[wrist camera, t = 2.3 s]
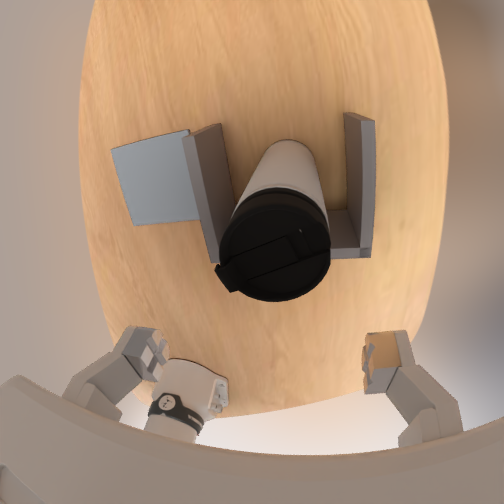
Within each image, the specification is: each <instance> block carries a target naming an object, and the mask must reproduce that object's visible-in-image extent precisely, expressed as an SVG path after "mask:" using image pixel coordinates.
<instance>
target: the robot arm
mask: <svg viewBox="0 0 504 504" xmlns="http://www.w3.org/2000/svg"><path fill="white" fill-rule="evenodd" d="M162 337H163V334H162V332H161V330H159V329H152V328H145V327H138V326H131V325H130V326H128V327H127V328H126V329H125V331H124V333H123V334H122V336H121V338H120V339H119V341H118V343H117V344H116V346H115V348H114V350H113V351H112V352H109V353H107V354H106V355H104V356H103V357H101V358H100V359H98V360H97V361H95V362H94V363H92V364H91V365H89V366H88V367H86V368H85V369H84V370H82V371H80V372H79V373H77V374H76V375H74V376H73V378H72V379H71V381H70V383H69V384H68V386H67V388H66V390H65V392H64V393H63V395H62V397H60V396H58V395H56V394H54V393H52V392H50V391H48V390H46V389H45V388H43V387H41V386H39V385H37V384H36V383H34V382H32V381H31V380H29V379H27V378H26V377H24V376H22V375H16V376H14V377H13V378H11V379H9V380H8V381H7V382H5V383H4V384H2V385H1V386H0V504H504V417H501V418H499V419H497V420H494V421H492V422H489V423H487V424H484V425H482V426H479V427H476V428H473V429H471V430H467V431H463V427H462V421H461V416H460V411H459V407H458V402H457V400H456V399H454V397H452V396H451V394H449V393H448V392H447V391H446V390H445V389H444V388H443V387H442V386H441V385H440V384H439V383H438V382H437V381H436V380H435V379H434V378H433V377H432V376H431V375H430V374H428V372H426V371H425V370H424V369H423V368H422V367H421V366H420V365H416V364H415V360H414V356H413V353H412V349H411V345H410V341H409V338H408V334H407V332H406V330H398V331H385V332H374V333H367V334H366V337H365V343H366V345H365V346H364V347H363V350H362V370H363V371H364V372H365V376H364V379H363V383H364V392H365V394H377V393H386V395H387V396H388V398H389V399H390V400H391V402H392V403H393V404H394V405H395V407H396V408H397V410H398V411H399V412H400V414H401V415H402V416H403V418H404V419H405V420H406V422H407V423H408V424H409V426H408V427H407V428H406V429H405V430H404V431H403V432H402V433H401V435H400V436H399V437H398V443H399V448H394V449H387V450H381V451H372V452H364V453H353V454H339V455H279V454H264V453H253V452H244V451H236V450H229V449H222V448H216V447H210V446H205V445H200V444H195V440H196V436H197V435H198V434H199V433H200V431H201V430H202V428H203V425H204V422H206V421H209V420H211V419H214V418H215V417H216V415H217V412H218V413H221V412H222V409H223V407H227V406H228V404H229V397H228V380H227V379H226V378H224V377H221V376H219V375H216V374H214V373H212V372H211V371H209V370H208V369H206V368H204V367H203V366H200V365H198V364H196V363H193V362H190V361H186V360H180V359H170V360H168V359H169V355H170V348H169V345H168V343H167V341H165V340H164V339H163V338H162ZM142 380H148V381H153V382H156V383H155V386H154V389H153V393H152V398H153V400H154V401H153V402H152V404H151V406H150V408H149V412H148V417H149V418H148V421H147V423H146V426H145V428H144V430H141V429H137V428H135V427H132V426H129V425H126V424H123V423H120V422H119V420H120V418H121V416H122V412H121V411H120V410H119V409H118V408H117V407H116V406H115V405H116V404H117V403H118V402H119V401H120V400H122V398H124V397H125V396H126V395H127V394H128V393H129V392H130V391H132V390H133V389H134V388H135V387H136V386H137V385H138V384H139V383H140V382H141V381H142ZM198 436H199V435H198Z"/></svg>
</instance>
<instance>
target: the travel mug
mask: <svg viewBox="0 0 504 504" xmlns="http://www.w3.org/2000/svg"><path fill="white" fill-rule="evenodd" d="M330 248H331V239H330V233H329V223H328V217H327V213H326V208H325V203H324V198H323V194H322V189H321V185H320V180H319V176H318V172H317V168H316V164H315V160H314V157H313V155H312V153H311V151H310V150H309V149H308V148H307V147H306V146H305V145H303V144H302V143H300V142H298V141H294V140H281V141H278V142H275V143H274V144H272V145H271V146H270V147H269V148H268V149H267V150H266V151H265V153H264V155H263V157H262V158H261V160H260V162H259V164H258V166H257V168H256V170H255V172H254V173H253V175H252V177H251V179H250V181H249V183H248V185H247V187H246V189H245V191H244V192H243V194H242V196H241V198H240V200H239V202H238V204H237V206H236V208H235V210H234V212H233V215H232V217H231V220H230V222H229V224H228V226H227V228H226V230H225V232H224V234H223V237H222V239H221V242H220V247H219V260H220V265H219V264H217V265H216V267H215V270H214V271H215V272H216V274H217V276H218V277H219V279H220V280H221V282H222V283H223V284H224V286H225V287H226V288H227V290H228V291H229V292H230V293H231V292H235V291H238V290H239V291H240V292H241V293H243V294H245V295H247V296H248V297H251V298H254V299H257V300H261V301H267V302H281V301H288V300H291V299H295V298H298V297H300V296H302V295H304V294H306V293H308V292H309V291H311V290H312V289H314V288H315V287H316V286H317V285H318V284H319V283H320V282H321V281H322V279H323V278H324V276H325V275H326V273H327V271H328V269H329V266H330V261H331V250H330Z"/></svg>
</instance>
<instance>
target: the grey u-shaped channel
mask: <svg viewBox="0 0 504 504" xmlns="http://www.w3.org/2000/svg"><path fill="white" fill-rule="evenodd" d="M343 115H344V128H345V144H346V168H347V210H326V213H327V217H328V223H329V233H330V239H331V248H330V250H331V259H349V258H371V250H372V239H373V227H374V212H375V188H376V140H375V121H374V120H371V119H369V118H366V117H363V116H361V115H358V114H355V113H343ZM181 139H182V144H183V148H184V153H185V158H186V162H187V167H188V171H189V176H190V180H191V184H192V189H193V193H194V197H195V201H196V205H197V210H198V214H199V218H200V222H201V226H202V230H203V234H204V238H205V241H206V245H207V249H208V253H209V257H210V261H211V263H220V260H219V247H220V242H221V239H222V237H223V234H224V232H225V230H226V228H227V226H228V224H229V222H230V220H231V217H232V215H233V212H234V210H235V208H236V206H235V200H234V195H233V189H232V184H231V178H230V173H229V167H228V161H227V156H226V150H225V145H224V139H223V133H222V128H221V123H220V124H214V125H210V126H208V127H205V128H203V129H201V130H198V131H196V132H194V133H191V134H189V135H187V136H185V137H183V138H181Z"/></svg>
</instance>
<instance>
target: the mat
mask: <svg viewBox="0 0 504 504" xmlns="http://www.w3.org/2000/svg"><path fill="white" fill-rule="evenodd" d="M189 134H190V131H189V129H188V130H183V131H179V132H174V133H170V134H165V135H161V136H157V137H153V138H149V139H146V140H142V141H138V142H135V143H131V144H128V145H124V146H121V147H118V148H114V149H112V150H111V153H112V157H113V160H114V164H115V168H116V171H117V175H118V178H119V182H120V185H121V188H122V192H123V195H124V198H125V201H126V204H127V207H128V210H129V213H130V216H131V219H132V222H133V225H134V226H139V225H148V224H158V223H168V222H179V221H190V220H200V218H199V214H198V210H197V205H196V201H195V197H194V193H193V189H192V184H191V180H190V176H189V171H188V167H187V162H186V158H185V153H184V148H183V144H182V139H181V138H183V137H185V136H187V135H189Z"/></svg>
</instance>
